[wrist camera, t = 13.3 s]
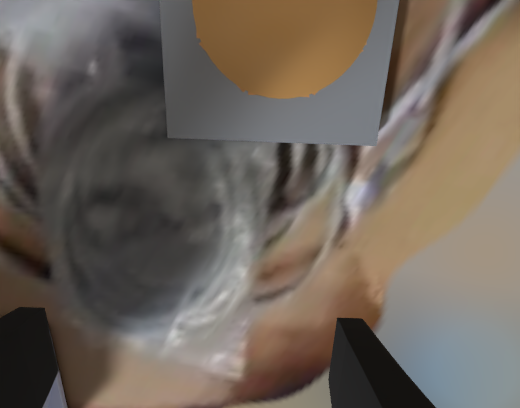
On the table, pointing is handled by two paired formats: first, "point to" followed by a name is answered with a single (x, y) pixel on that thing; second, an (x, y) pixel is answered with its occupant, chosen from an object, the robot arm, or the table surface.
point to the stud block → (271, 109)
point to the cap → (283, 41)
